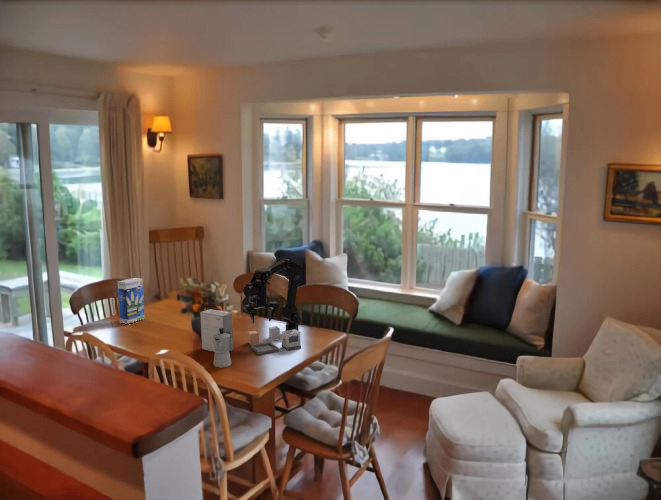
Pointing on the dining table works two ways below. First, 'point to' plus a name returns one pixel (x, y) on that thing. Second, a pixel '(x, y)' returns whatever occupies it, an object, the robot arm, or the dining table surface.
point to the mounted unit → (291, 340)
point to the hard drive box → (215, 327)
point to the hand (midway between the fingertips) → (261, 322)
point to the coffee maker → (222, 349)
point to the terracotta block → (253, 337)
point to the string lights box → (131, 300)
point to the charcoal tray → (264, 348)
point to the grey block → (274, 333)
